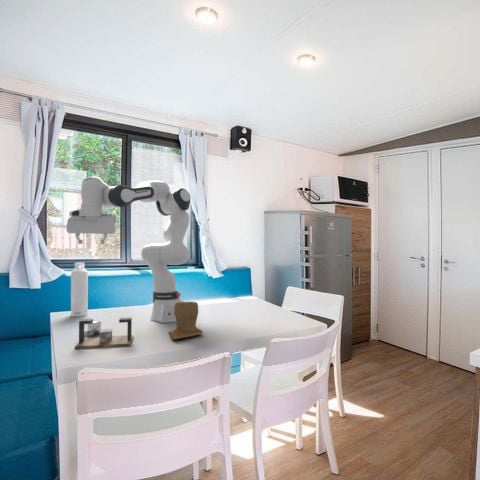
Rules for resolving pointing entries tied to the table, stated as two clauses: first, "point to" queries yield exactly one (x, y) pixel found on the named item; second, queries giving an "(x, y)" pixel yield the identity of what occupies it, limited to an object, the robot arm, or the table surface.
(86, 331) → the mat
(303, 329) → the table surface
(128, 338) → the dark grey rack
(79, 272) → the bottle
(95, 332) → the grey crossbar piece
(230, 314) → the table surface
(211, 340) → the table surface
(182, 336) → the brown upright based slab
